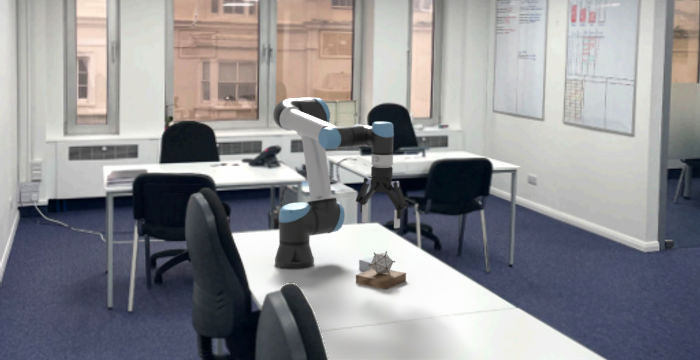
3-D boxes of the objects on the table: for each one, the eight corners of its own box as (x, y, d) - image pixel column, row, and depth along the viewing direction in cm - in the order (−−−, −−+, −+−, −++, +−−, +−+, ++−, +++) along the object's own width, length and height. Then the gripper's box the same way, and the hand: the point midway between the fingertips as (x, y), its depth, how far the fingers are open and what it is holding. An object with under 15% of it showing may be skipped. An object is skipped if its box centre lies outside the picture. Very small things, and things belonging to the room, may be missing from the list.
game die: (385, 285, 291) (393, 268, 284) (363, 276, 292) (371, 258, 285) (392, 267, 298) (399, 250, 291) (370, 258, 298) (377, 241, 291)
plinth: (355, 283, 291) (355, 274, 290) (375, 274, 301) (375, 267, 301) (386, 289, 284) (386, 281, 283) (405, 281, 294) (405, 273, 294)
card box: (359, 270, 309) (359, 259, 308) (375, 265, 315) (376, 255, 314) (370, 273, 305) (370, 262, 304) (387, 268, 311) (387, 258, 310)
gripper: (346, 163, 290) (346, 221, 294) (406, 171, 276) (405, 231, 279) (358, 161, 296) (357, 218, 300) (418, 168, 282) (416, 228, 285)
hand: (380, 224), depth 290 cm, fingers open, 13 cm apart
